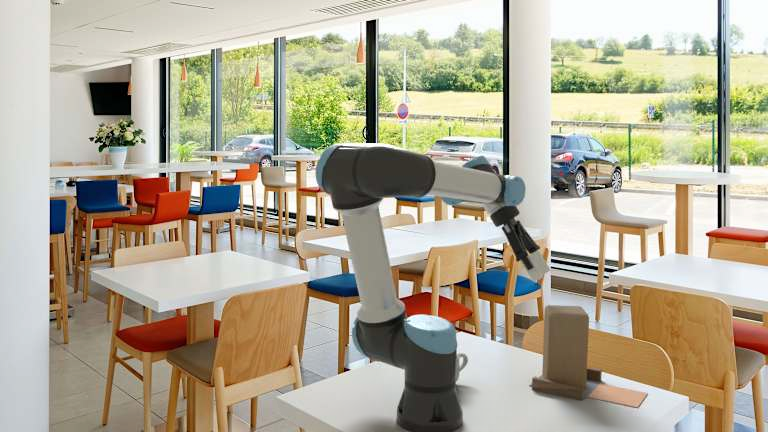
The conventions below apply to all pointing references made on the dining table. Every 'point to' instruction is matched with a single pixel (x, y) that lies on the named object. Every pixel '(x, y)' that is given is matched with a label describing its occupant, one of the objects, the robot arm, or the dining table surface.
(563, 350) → the wooden block
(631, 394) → the tile
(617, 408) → the dining table surface
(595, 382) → the grey square panel
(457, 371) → the teacup
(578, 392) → the lane rails
